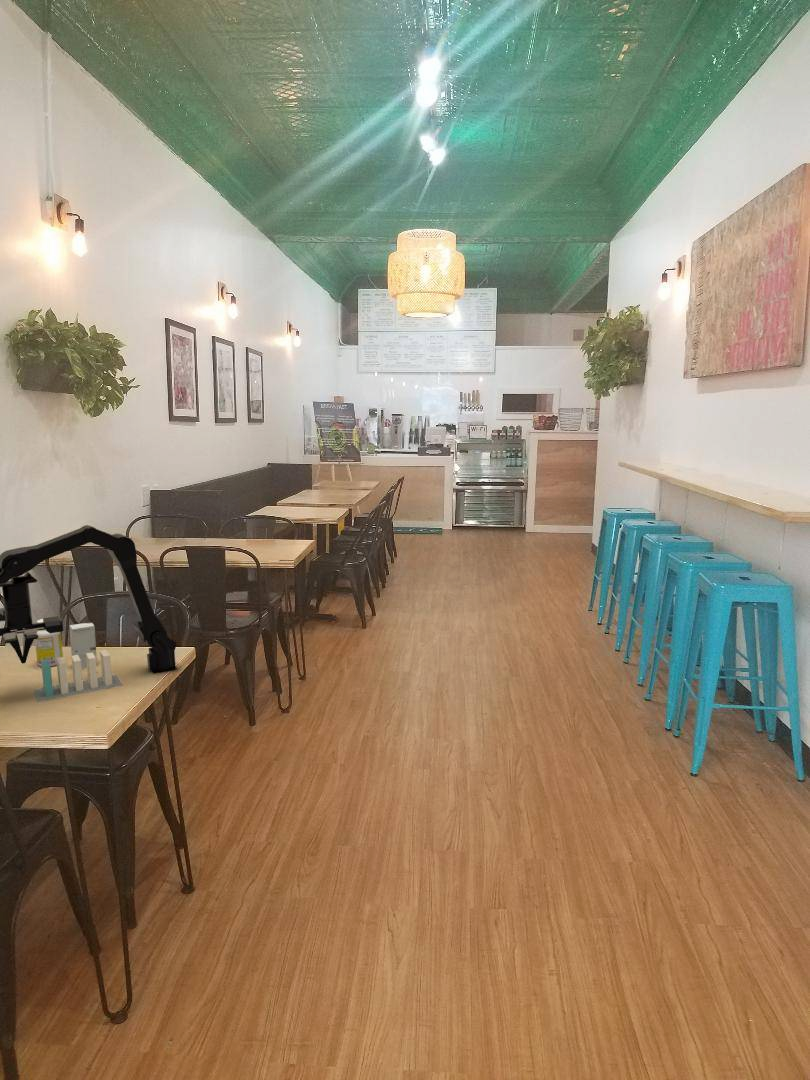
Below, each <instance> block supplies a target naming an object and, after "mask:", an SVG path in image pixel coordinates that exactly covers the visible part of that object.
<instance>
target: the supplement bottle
mask: <svg viewBox="0 0 810 1080" xmlns="http://www.w3.org/2000/svg"><path fill="white" fill-rule="evenodd" d="M41 622H43V618H41V619H38V620H37V621H36V623H41ZM37 634H38V638H37V639H34V643H35V652H36V660H37V661H36V662H37V665H38V666H39V667H42V666H41V661H43V660H48V661H49V663H50V665H51V667H54V666H57V659H56V658H61V657H63V658H64V653H63V647H62V646H63V645H62V644H63V643H62V634H61V632H57V633H48V632H47V631H46V629H45V630H39V631H38V632H37Z"/></svg>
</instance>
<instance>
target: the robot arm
mask: <svg viewBox="0 0 810 1080" xmlns="http://www.w3.org/2000/svg"><path fill="white" fill-rule="evenodd" d="M88 543H89V544H90V543H92V544H94V545H96V546H99V547H101V548H104V549H106V550H107V552H108V554H109V555H110V557H111V559H112V560H113V561H114V563H115V564H116V565H117V567H118V568H119V570H120V572H121V573H120V574H121V575H122V578H123V580H124V583H125V585H126V589H127V590H128V593H129V596H130V600H131V602H132V605H133V607H134V609H135V613H136V615H137V621H136V622H133V623H132V625H133V627H134V629H135V630H136V636H137V638H138V639H140V640H141V641H142V642H144V643H146V644H147V646H149V648H148V653H147V654H146V659H147V669H148V670H149V671H150V672H151V673H152V674H154V675H155V674H161V673H167V672H172V671H173V672H174V671H177V670H178V667H177V666H176V654H175V651H176V648H177V642H176V641H175V640H173V639H172V638H171V637H169V636H168V632H167V629H166V628H165V627H164V625H163V623H162V622H161V621H160V619H159V618H158V616H157V615H156V613H155V612H154V609H153V606H152V604H151V600H150V599H149V595H148V593H147V590H146V587H145V585H144V583H143V582H144V581H143V579H142V577H141V574H140V572H139V568H138V561H137V559H138V555H137V554H138V553H137V548H136V543H135V542H134V541H133V539H132V538H130V537H128V536H126V535H123V534H122V533H114V534H111V533H108V532H105V531H102V530H100V529H98V528H96V527H94V526H92V525H89V524H86V525H83V526H81V527H80V528H78V529H75V530H73V531H72V530H71V531H70V532H67V533H64V534H62V535H59V536H56V537H54V538H52V539H48V540H46V541H44V542H41V543H37V544H36V545H30V546H23V547H22V546H21V547H16V548H13V549H7V550H4V551H3V552H2V553H0V588H1V591H2V595H1V593H0V601H1V598H2V599H3V607H1V608H0V622H4V623H5V624H4V625H5V627H1V628H0V637H2V638H3V641H4V644H9V645H10V646H11V647H12V648H13V650H14V651H15V653H16V655H17V657H18V658H19V660H20V663H21V664H26V663H27V659H28V656H29V653H30V649H31V647H32V644H33V643H34V642H35V639H37V638H38V634H37V632H38V631H39V630H45V629H46V631H47V632H48V633H57V632H64V623H63V620H62V618H61V617H60V616H58V615H56V616H49V617H43V618H42V619H43V622H41V623H37V622H35V623H33V615H32V605H31V604H32V603H31V596H30V595H31V594H30V586H29V584H33V583H38V579H37V578H36V577H35V576H33V575H31V573H30V571H32V570H33V569H34V568H36V567H38V565H40V564H41V563H42V562H45V561H46V560H49V559H51V558H54V557H56V556H57V557H58V555H61V554H64V553H66V552H69V551H71V550H73V549H77V548H79V547H81V546H84V545H86V544H88ZM18 634H22V638H23V639H22V643H23V644H22V649H21V645H20V641H19V639H18V638H19V637H18Z"/></svg>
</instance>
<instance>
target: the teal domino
mask: <svg viewBox="0 0 810 1080" xmlns="http://www.w3.org/2000/svg"><path fill="white" fill-rule="evenodd" d="M40 667H41V674H42V676H41V677H42V685H43V688H44V692H45V695H46V697H50V696H53V686H54V685H53V678H52V666H51V665H50V663H49V661H48V660H43V661H41V666H40Z"/></svg>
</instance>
